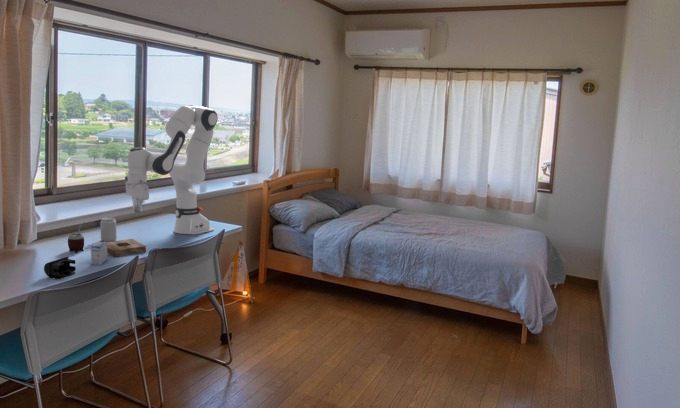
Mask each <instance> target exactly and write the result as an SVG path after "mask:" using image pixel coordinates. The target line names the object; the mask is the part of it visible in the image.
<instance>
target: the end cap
mask: <svg viewBox="0 0 680 408" xmlns="http://www.w3.org/2000/svg"><path fill="white" fill-rule="evenodd" d="M72 264H73V265H72ZM74 265H76V260H75V259H71V258H70V259H69V256H64V257H62V258H58V259H55V260H51V261H49V262H47V263H45V264H44V266H43V271H44V274H45V275H46V276H47V277H49V278H50V279H52V278H55V279H54V280H58V279H59V280H62V279H65V278H68V277H70V276H72V275H75V274H76V272H75V271H76V266H74ZM64 277H65V278H64ZM61 278H62V279H61Z"/></svg>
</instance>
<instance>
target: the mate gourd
mask: <svg viewBox="0 0 680 408" xmlns="http://www.w3.org/2000/svg"><path fill="white" fill-rule="evenodd" d="M85 223H86V222H82V223H81V224H80V225H79V227H78V230H77V233H71V234H70V235H69V236H68V238H67V245H68V249H69V250H68V252H74V253H76V254H77V253H78V252H83V251H84V247H85V237H84V235H83V234H82V233H80V230H81V228H82V226H83V225H84V224H85Z"/></svg>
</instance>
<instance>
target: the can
mask: <svg viewBox="0 0 680 408" xmlns="http://www.w3.org/2000/svg"><path fill="white" fill-rule="evenodd" d="M99 225H100V240H101V242H112V241H117V239H118V237H117V220H116V219H115V217H112V216H109V217H107V216H105V217H102V218H101V220H100V224H99Z"/></svg>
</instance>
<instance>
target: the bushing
mask: <svg viewBox="0 0 680 408" xmlns="http://www.w3.org/2000/svg"><path fill="white" fill-rule="evenodd" d="M137 203H138V198H135V197H133V200H132V208H133V209H132V210H133V211H132V212H133V213H137V214H138V213H142V212H143V211H142V210H143V209H142V207H143V206H142V207H138V206H137Z"/></svg>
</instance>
